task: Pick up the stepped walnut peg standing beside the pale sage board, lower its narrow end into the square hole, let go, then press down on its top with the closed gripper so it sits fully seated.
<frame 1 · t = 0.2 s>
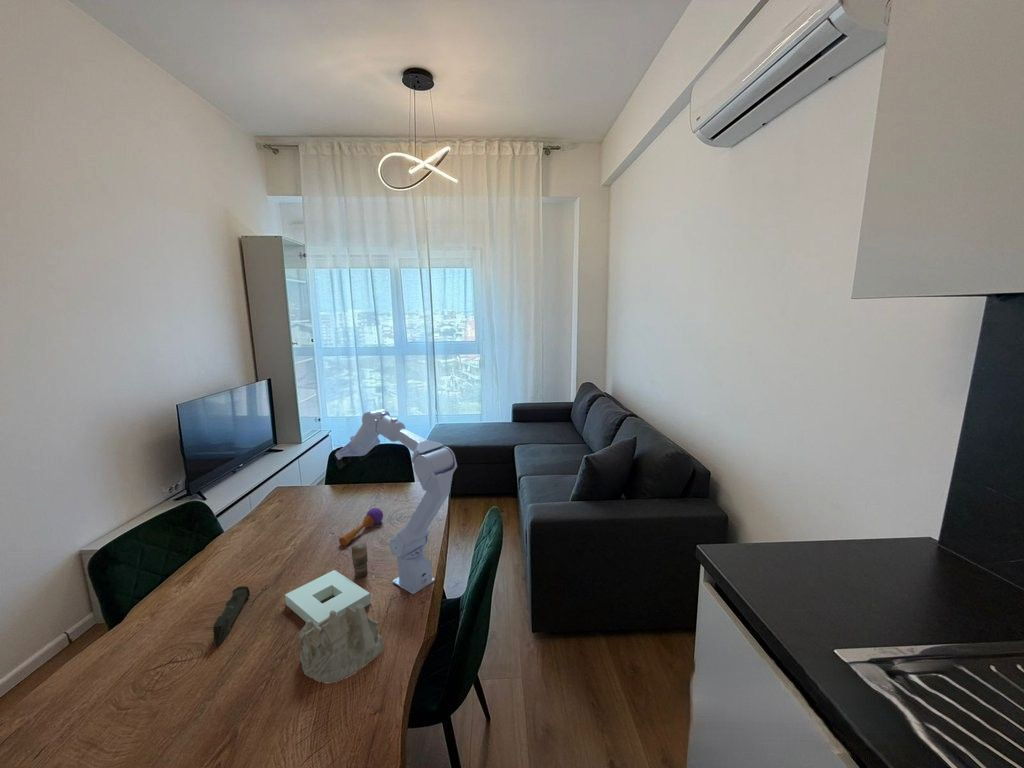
hand: (349, 462, 135), 31 cm above the table, tool tilted 45°, fingers open, 7 cm apart
pale grey lumpy mound: (342, 654, 97), on the table
hand tool: (233, 621, 109), on the table
walnut peg: (361, 574, 127), on the table
kendama: (362, 533, 153), on the table
sage board: (328, 604, 114), on the table
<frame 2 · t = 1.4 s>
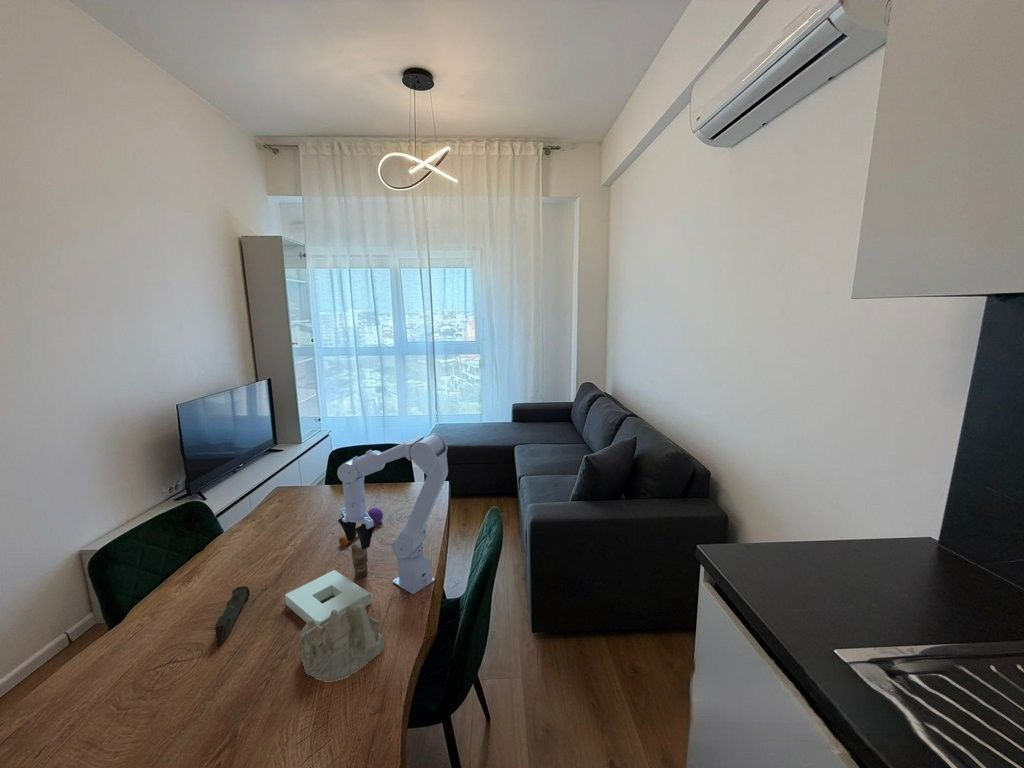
hand: (358, 543, 125), 10 cm above the table, tool pointing down, fingers open, 7 cm apart
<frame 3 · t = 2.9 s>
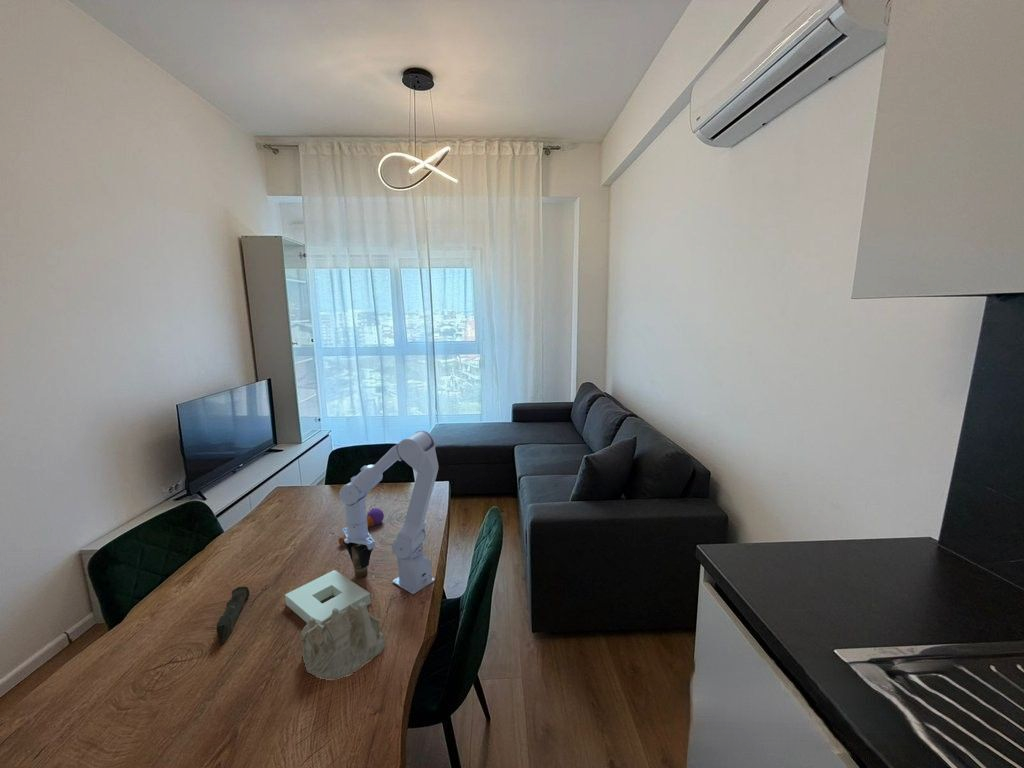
hand: (360, 563, 126), 3 cm above the table, tool pointing down, fingers closed on walnut peg, 4 cm apart
walnut peg: (361, 574, 127), on the table, touching gripper
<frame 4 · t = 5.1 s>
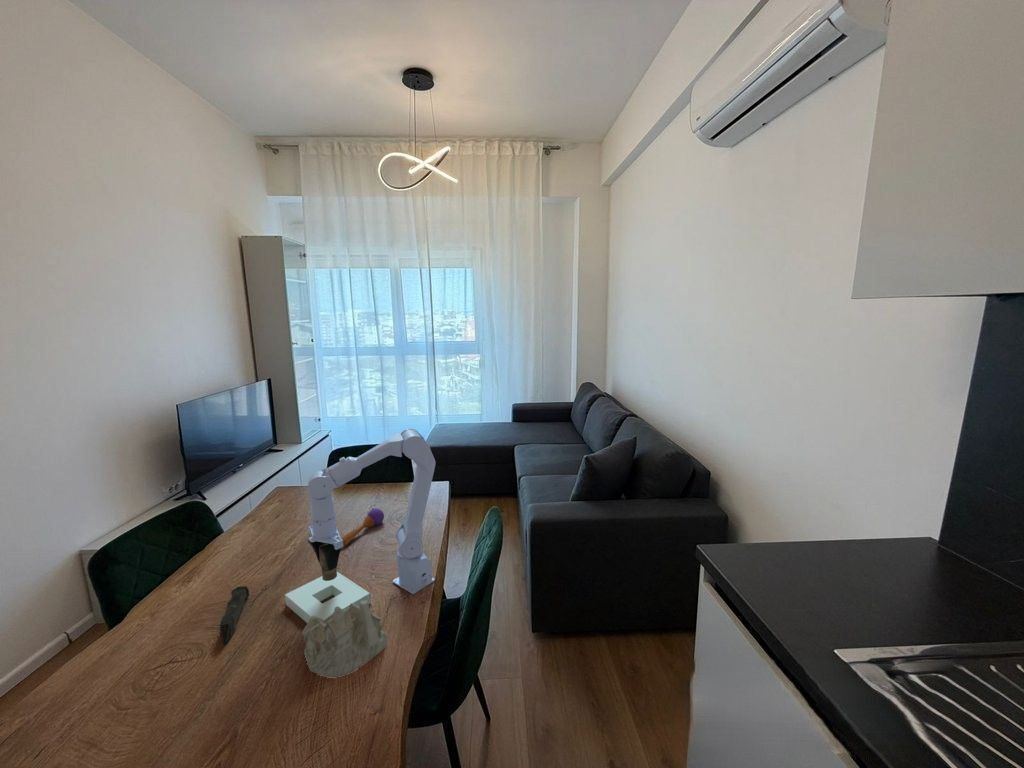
hand: (328, 565, 113), 10 cm above the table, tool pointing down, fingers closed on walnut peg, 4 cm apart
walnut peg: (329, 576, 114), point 7 cm above the table, touching gripper
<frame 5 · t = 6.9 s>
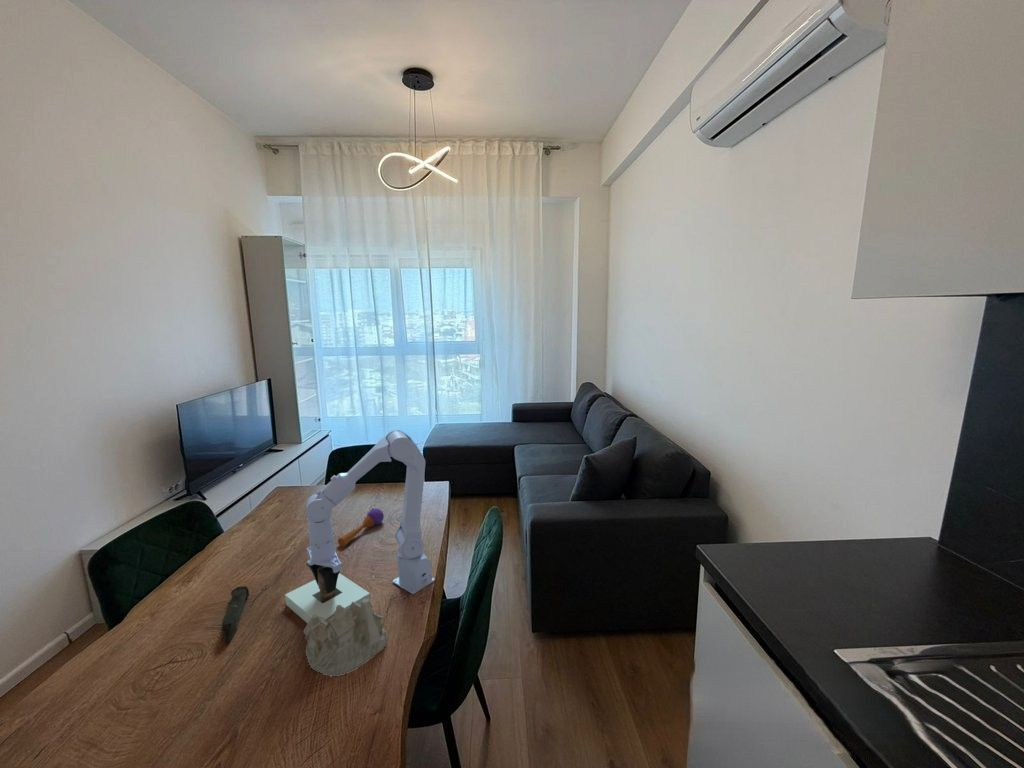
hand: (326, 587, 113), 5 cm above the table, tool pointing down, fingers closed on walnut peg, 4 cm apart
walnut peg: (328, 598, 114), point 1 cm above the table, touching gripper
when the fingers open (5 cm above the table, at t = 7.4 s): walnut peg drops 1 cm, resting in sage board.
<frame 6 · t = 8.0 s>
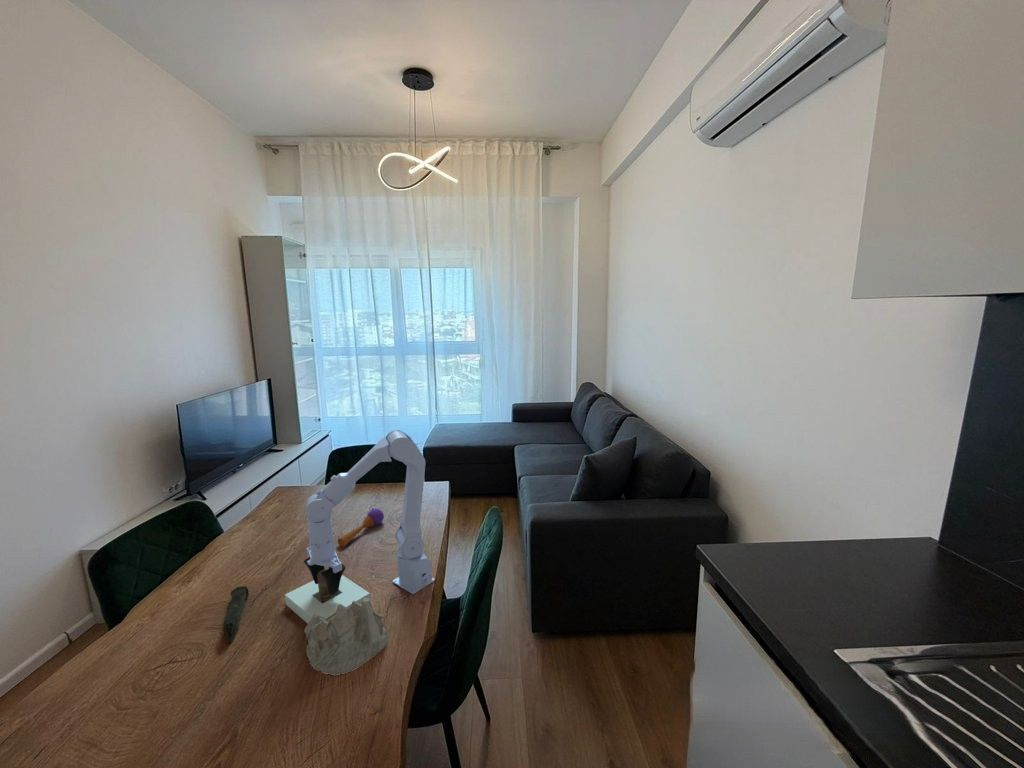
hand: (326, 587, 113), 5 cm above the table, tool pointing down, fingers open, 7 cm apart
walnut peg: (328, 603, 114), resting in sage board
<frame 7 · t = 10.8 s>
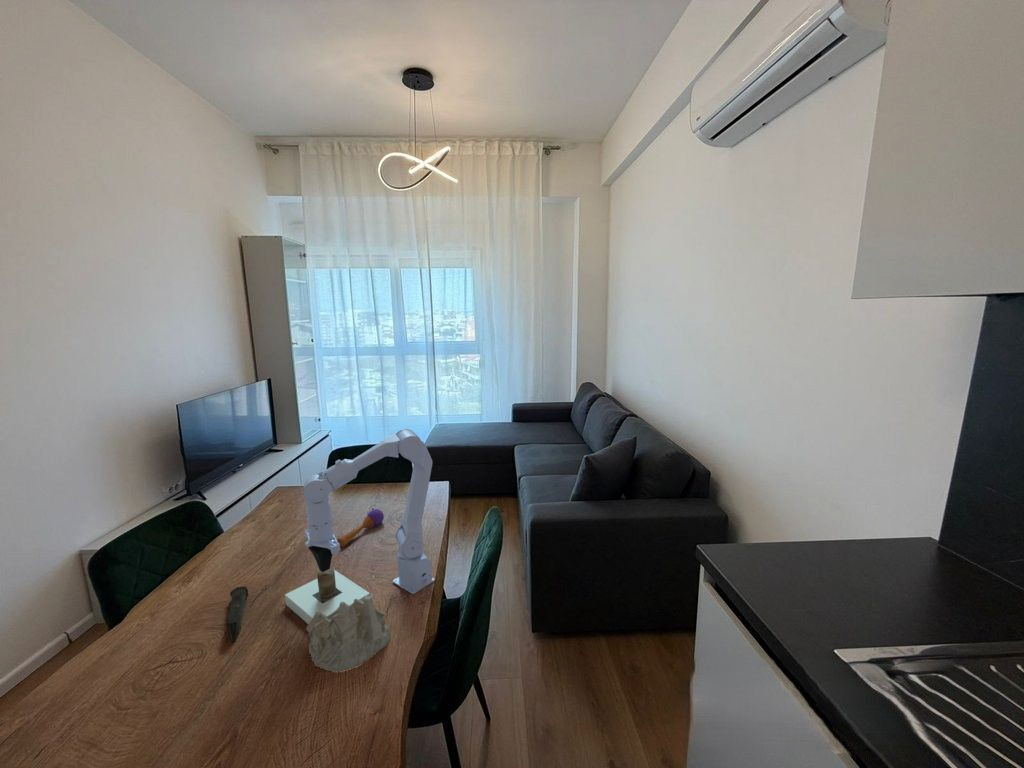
hand: (324, 569, 112), 10 cm above the table, tool pointing down, fingers closed
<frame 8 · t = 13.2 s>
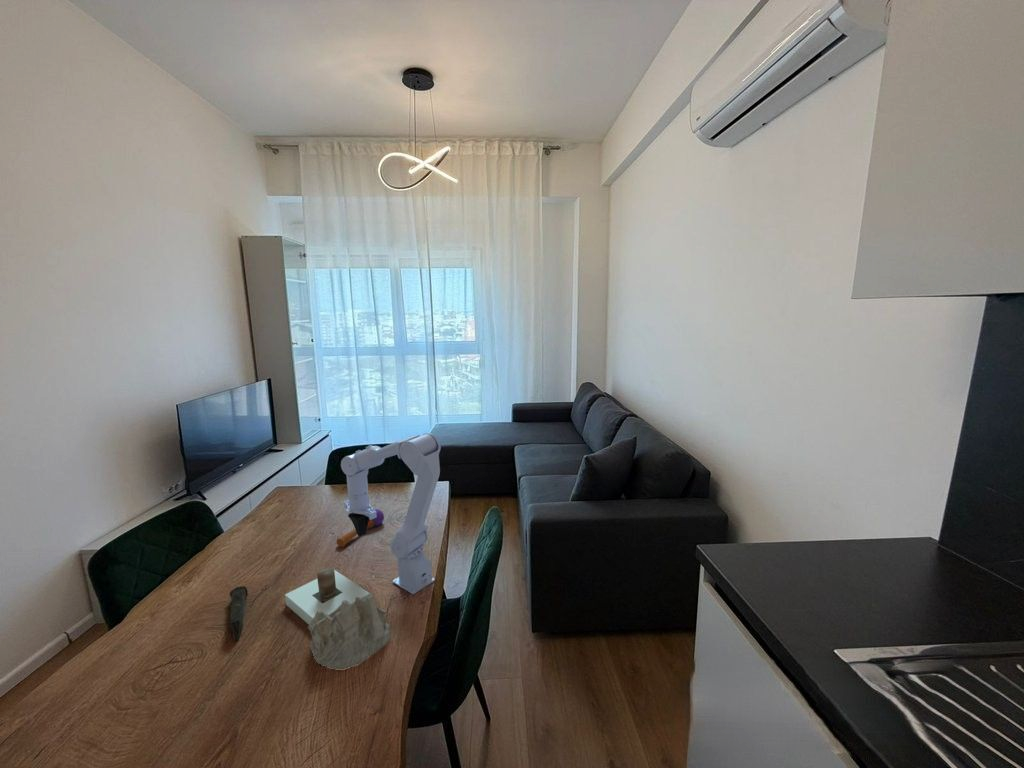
hand: (361, 534, 129), 10 cm above the table, tool pointing down, fingers closed
at the end: walnut peg 0.2 cm off-centre on the sage board, point 0.0 cm above the sage board's base; walnut peg tilted 0°; the gripper is holding nothing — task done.
